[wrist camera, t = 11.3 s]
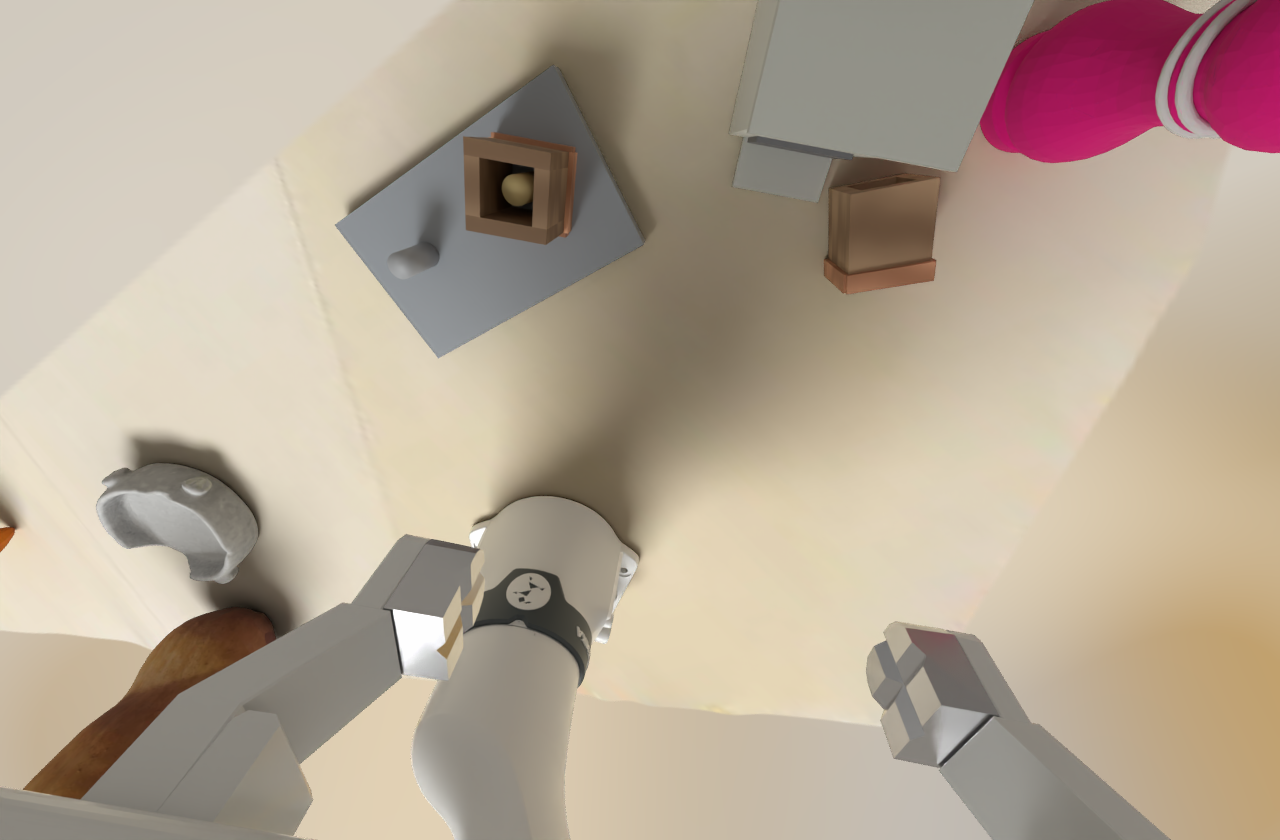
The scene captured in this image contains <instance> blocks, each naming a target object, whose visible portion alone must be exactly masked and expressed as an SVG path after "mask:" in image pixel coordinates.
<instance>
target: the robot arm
mask: <svg viewBox="0 0 1280 840" xmlns="http://www.w3.org/2000/svg"><path fill="white" fill-rule="evenodd" d="M469 539H470V542H471V546H472V547H469V546H464V545H459V544H454V543H449V542H444V541H439V540H434V539H428V538H423V537H418V536H413V535H407V534H406V535H404V536H403V537H402V538H400V539H399V540H398V541H397V542H396V543H395V545H394V546H393V547H392V549H391V550H390V551H389V553H388V554H387V555H386V557H385V558H384V560H383V561H382V562H381V564H380V565H379V566H378V568H377V569H376V570H375V572H374V573H373V574H372V576H371V577H370V579H369V580H368V581H367V583H366V584H365V585H364V587H363V588H362V589H361V591H360V592H359V593H358V595H357V596H356V598H355V599H354V600H353V602H352V603H351V604H350V603H341V604H339V605H337V606H336V607H334V608H332V609H330V610H328V611H327V612H325V613H323V614H321V615H319V616H318V617H316V618H314V619H312V620H311V621H309V622H307V623H305V624H303V625H302V626H300V627H298V628H296V629H294V630H293V631H291V632H289V633H287V634H285V635H284V636H282V637H280V638H278V639H276V640H275V641H273V642H271V643H269V644H267V645H266V646H264V647H262V648H260V649H259V650H257V651H255V652H253V653H251V654H250V655H248V656H246V657H244V658H242V659H241V660H239V661H237V662H235V663H233V664H232V665H230V666H228V667H226V668H224V669H223V670H221V671H219V672H217V673H216V674H214V675H212V676H210V677H208V678H207V679H205V680H203V681H201V682H199V683H198V684H196V685H194V686H192V687H190V688H189V689H187V690H185V691H183V692H181V693H180V694H178V695H177V696H176V697H175V699H174V700H173V701H172V702H171V703H170V704H169V705H168V706H167V707H166V708H165V709H164V710H163V711H162V712H161V714H160V715H159V716H158V717H157V718H156V719H155V720H154V721H153V722H152V723H151V724H150V725H149V726H148V727H147V729H146V730H145V731H144V732H143V733H142V734H141V735H140V736H139V737H138V738H137V739H136V740H135V741H134V743H133V744H132V745H131V746H130V747H129V748H128V749H127V750H126V751H125V752H124V753H123V754H122V755H121V756H120V758H119V759H118V760H117V761H116V762H115V763H114V764H113V765H112V766H111V767H110V768H109V769H108V770H107V771H106V773H105V774H104V775H103V776H102V777H101V778H100V779H99V780H98V781H97V782H96V783H95V784H94V785H93V787H92V788H91V789H90V790H89V791H88V792H87V793H86V794H85V795H84V796H83V797H82V798H81V799H74V798H68V797H62V796H56V795H50V794H44V793H38V792H33V791H27V790H21V789H15V788H9V787H3V786H0V840H315V839H308V838H303V837H297V836H293V835H294V833H295V832H296V830H297V828H298V826H299V825H300V823H301V821H302V819H303V817H304V816H305V814H306V812H307V810H308V808H309V807H310V805H311V803H312V801H313V798H312V793H311V789H310V787H309V785H308V782H307V780H306V778H305V776H304V774H303V772H302V769H301V767H300V765H299V764H301V763H302V762H303V761H304V760H305V759H306V758H308V757H309V756H310V755H311V754H312V753H314V752H315V751H316V750H317V749H318V748H319V747H321V746H322V745H323V744H324V743H325V742H326V741H328V740H329V739H330V738H331V737H332V736H334V734H336V733H337V732H338V731H339V730H341V729H342V728H343V727H344V726H345V725H347V724H348V723H349V722H350V721H351V720H352V719H354V718H355V717H356V716H357V715H358V714H359V713H360V712H362V711H363V710H364V709H365V708H367V706H369V705H370V704H371V703H372V702H374V701H375V700H376V699H377V698H378V697H379V696H381V695H382V694H383V693H384V692H385V691H387V690H388V689H389V688H390V687H391V686H392V685H394V684H395V683H396V682H397V681H398V680H399V679H401V678H402V675H409V676H416V677H423V678H430V679H437V683H436V685H435V687H434V689H433V691H432V693H431V696H430V698H429V700H428V702H427V704H426V706H425V708H424V711H423V713H422V715H421V717H420V719H419V721H418V724H417V726H416V728H415V731H414V734H413V738H412V744H411V763H412V769H413V773H414V776H415V779H416V781H417V783H418V786H419V788H420V790H421V792H422V793H423V795H424V797H425V798H426V800H427V801H428V802H429V803H430V805H431V806H432V807H433V808H434V809H435V810H436V812H437V813H438V814H439V815H440V816H441V817H442V818H443V820H444V821H445V822H446V824H447V825H448V827H449V828H450V830H451V832H452V835H453V837H454V840H570V835H569V830H568V824H567V816H566V809H565V808H566V807H565V787H564V786H565V768H566V759H567V750H568V742H569V735H570V727H571V721H572V714H573V709H574V702H575V697H576V692H577V688H578V687H579V686H580V685H581V683H582V681H583V679H584V676H585V672H586V670H587V667H588V664H589V659H590V649H591V645H592V644H593V642H594V641H597V642H599V643H603V644H605V643H607V641H608V639H609V635H610V632H611V626H612V622H613V617H614V615H613V612H614V610H615V608H616V606H617V604H618V603H619V601H620V599H621V597H622V595H623V593H624V591H625V590H626V588H627V586H628V584H629V582H630V580H631V578H632V577H633V575H634V573H635V571H636V569H637V567H638V563H639V557H638V555H637V554H636V553H635V552H634V551H633V550H631V549H630V548H629V547H627V546H626V545H625V544H623V543H622V542H621V541H620V540H619V539H618V537H617V536H616V534H615V532H614V531H613V529H612V528H611V527H610V525H609V524H608V523H607V522H606V521H605V520H604V519H603V518H602V517H601V516H600V515H598V514H597V513H596V512H594V511H593V510H591V509H590V508H588V507H586V506H584V505H582V504H580V503H577V502H575V501H572V500H568V499H565V498H560V497H553V496H535V497H529V498H524V499H521V500H518V501H516V502H513V503H512V504H510V505H508V506H507V507H505V508H504V509H503V510H502V511H501V512H500V513H499V514H498V515H497V516H495V517H494V518H492V519H490V520H487V521H484V522H481V523H478V524H476V525H474V526H473V527H472V529H471V531H470V534H469ZM883 633H884V635H885V638H886V641H884V642H882V643H880V644H878V645H876V646H874V647H873V649H872V651H871V652H870V654H869V656H868V659H867V667H866V674H867V681H868V685H869V688H870V691H871V694H872V697H873V698H874V699H875V700H876V701H877V702H878V703H879V704H880V705H881V707H882V708H883V709H884V711H883V714H882V717H881V720H880V721H881V724H882V726H883V729H884V732H885V735H886V738H887V740H888V743H889V747H890V749H891V752H892V755H893V758H894V759H898V760H903V761H908V762H913V763H918V764H923V765H928V766H933V767H937V768H940V770H939V771H940V773H941V774H942V775H943V777H944V778H945V779H946V780H947V782H948V783H949V784H950V785H951V787H952V788H953V790H954V791H955V792H956V793H957V795H958V796H959V797H960V798H961V800H962V801H963V802H964V804H965V805H966V806H967V808H968V809H969V810H970V811H971V813H972V814H973V815H974V816H975V818H976V819H977V820H978V822H979V823H980V824H981V825H982V827H983V828H984V829H985V831H986V832H987V833H988V835H989V836H990V837H991V838H992V840H1170V839H1169V838H1168V837H1167V836H1166V835H1165V834H1164V833H1162V832H1161V831H1160V830H1159V829H1158V828H1157V827H1156V826H1155V825H1153V824H1152V823H1151V822H1150V821H1149V820H1148V819H1147V818H1145V817H1144V816H1143V815H1142V814H1141V813H1140V812H1138V811H1137V810H1136V809H1135V808H1134V807H1133V806H1132V805H1131V804H1129V803H1128V802H1127V801H1126V800H1125V799H1124V798H1123V797H1122V796H1120V795H1119V794H1118V793H1117V792H1116V791H1114V790H1113V789H1112V788H1111V787H1110V786H1109V785H1108V784H1107V783H1106V782H1104V781H1103V780H1102V779H1101V778H1100V777H1099V776H1097V775H1096V774H1095V773H1094V772H1093V771H1092V770H1091V769H1090V768H1089V767H1087V766H1086V765H1085V764H1084V763H1083V762H1082V761H1080V760H1079V759H1078V758H1077V757H1076V756H1075V755H1074V754H1073V753H1071V752H1070V751H1069V750H1068V749H1067V748H1066V747H1065V746H1063V745H1062V744H1061V743H1060V742H1059V741H1058V740H1056V739H1055V738H1054V737H1053V736H1052V735H1051V734H1050V733H1049V732H1048V731H1046V730H1045V729H1044V728H1043V727H1042V726H1040V725H1039V724H1035V723H1031V722H1030V720H1029V719H1028V717H1027V715H1026V714H1025V712H1024V710H1023V709H1022V707H1021V706H1020V704H1019V702H1018V701H1017V699H1016V697H1015V696H1014V694H1013V692H1012V691H1011V689H1010V687H1009V686H1008V684H1007V682H1006V681H1005V679H1004V677H1003V676H1002V674H1001V672H1000V671H999V669H998V668H997V666H996V664H995V663H994V661H993V659H992V658H991V656H990V654H989V653H988V651H987V649H986V648H985V646H984V644H983V643H982V642H981V641H980V640H979V639H978V638H977V637H976V636H975V635H972V634H966V633H960V632H955V631H949V630H944V629H940V628H933V627H927V626H921V625H915V624H909V623H903V622H897V621H896V622H893V623H891V624H889V625H888V627H887V628H886V630H885V631H884V632H883ZM401 674H402V675H401Z"/></svg>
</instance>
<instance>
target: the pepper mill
mask: <svg viewBox="0 0 1280 840" xmlns="http://www.w3.org/2000/svg"><path fill="white" fill-rule="evenodd" d="M980 125H981V130H982V132H983V134H984V136H985V138H986V139H987V141H988V142H989V143H990V144H991V145H993V146H994V147H995V148H997V149H999V150H1002V151H1005V152H1011V153H1022V154H1024V155H1025V156H1027V157H1029V158H1031V159H1034V160H1037V161H1041V162H1047V163H1059V162H1070V161H1076V160H1082V159H1087V158H1090V157H1093V156H1096V155H1099V154H1102V153H1105V152H1108V151H1110V150H1112V149H1114V148H1116V147H1118V146H1120V145H1123V144H1125V143H1127V142H1128V141H1130V140H1132V139H1134V138H1135V137H1137V136H1139V135H1140V134H1142V133H1144V132H1146V131H1147V130H1149V129H1151V128H1153V127H1157V126H1164V127H1165V128H1166V129H1167V130H1169V131H1170V132H1171V133H1173V134H1176V135H1178V136H1180V137H1184V138H1190V139H1202V138H1222V139H1223V140H1224V141H1226V142H1228V143H1230V144H1232V145H1234V146H1237V147H1239V148H1242V149H1244V150H1249V151H1259V152H1268V153H1280V0H1220V1H1219V2H1218V3H1216V4H1215V5H1214V6H1212V7H1211V8H1210V9H1209V10H1207V11H1206V12H1205V13H1203V14H1195V13H1192V12H1189V11H1186V10H1184V9H1182V8H1180V7H1178V6H1175V5H1173V4H1171V3H1168V2H1166V1H1163V0H1110V1H1105V2H1101V3H1097V4H1094V5H1090V6H1088V7H1086V8H1084V9H1081V10H1079V11H1077V12H1075V13H1074V14H1072V15H1070V16H1068V17H1067V18H1065V19H1064V20H1062V21H1061V22H1059V23H1058V24H1057V25H1055V26H1054V27H1053V28H1052V29H1051V30H1048V31H1045V32H1042V33H1039V34H1037V35H1034V36H1032V37H1030V38H1028V39H1027V40H1025V41H1024V42H1022V43H1021V44H1019V45H1018V46H1016V47H1015V48H1014V49H1013V50H1012V51H1011V53H1010V55H1009V57H1008V60H1007V62H1006V64H1005V66H1004V68H1003V71H1002V73H1001V75H1000V77H999V80H998V82H997V84H996V86H995V88H994V91H993V93H992V95H991V97H990V100H989V102H988V104H987V106H986V108H985V111H984V113H983V115H982V117H981V120H980Z"/></svg>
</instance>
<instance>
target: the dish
mask: <svg viewBox="0 0 1280 840" xmlns="http://www.w3.org/2000/svg"><path fill="white" fill-rule="evenodd" d="M102 484H103V485H105V486H107V487H108V488H107V490H106V491H105V492H104V493H103V494H102V495H101V497H100V498H99V499H98V501H97V504H96V510H97V514H98V517H99V520H100V522H101V523H102V525H103V527H104V528H105V530H106V531H107V533H108V534H109V535H111V536H112V537H113V538H114V539H115V540H116V541H117V543H118V544H120V545H121V546H122V547H124V548H126V549H131V548H137V547H143V546H153V545H158V546H168V547H171V548H173V549H176V550H178V551H180V552H182V553H183V554H184V555H185V556H186V557H187V559H188V563H189V566H190V569H191V572H190V578H191V579H194V580H197V581H211V580H214V581H215V582H216V583H220V584H225V583H228V582H230V581H231V580H232V579H233V578H234V577H235V576H236V575H237V573H238V571H239V569H238V567H237V565H238V564H239V563H240V562H242V560H243V559H244V558H245V557H246V556H247V555H248V554H249V553H250V551H251V550H252V548H253V547H254V545H255V543H256V541H257V539H258V527H257V523H256V520H255V518H254V516H253V514H252V512H251V511H250V509H249V508H248V507H247V505H246V504H245V503H244V502H243V501H242V500H241V499H240V498H239V497H238V496H237V495H236V494H235V493H234V492H233V491H232V490H231V489H230V488H229V487H227V486H226V485H225V484H223V483H222V482H221V481H219V480H218V479H216V478H214V477H213V476H211V475H209V474H207V473H204V472H202V471H199V470H197V469H194V468H190V467H187V466H182V465H177V464H169V463H154V464H150V465H146V466H144V467H141V468H139V469H137V470H135V471H131V470H130V469H128V468H122V469H119V470H117V471H114V472H113V473H111V474H110V475H109V476H107V477H106V478H105V479H103V481H102Z"/></svg>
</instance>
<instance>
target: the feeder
mask: <svg viewBox="0 0 1280 840" xmlns="http://www.w3.org/2000/svg"><path fill="white" fill-rule="evenodd" d="M1033 2H1034V0H758V3H757V8H756V12H755V17H754V21H753V26H752V31H751V35H750V40H749V44H748V49H747V53H746V58H745V62H744V67H743V71H742V76H741V80H740V85H739V90H738V94H737V99H736V103H735V108H734V112H733V117H732V121H731V126H730V130H729V134H730V135H735V136H740V137H743V140H742V144H741V149H740V153H739V157H738V162H737V166H736V170H735V174H734V179H733V183H732V187H736V188H741V189H746V190H752V191H757V192H762V193H768V194H773V195H778V196H784V197H789V198H794V199H800V200H805V201H811V202H816V203H818V201H819V198H820V195H821V192H822V189H823V186H824V183H825V179H826V176H827V173H828V170H829V167H830V164H831V161H832V158H833V159H846V160H852V158H853V157H868V158H880V159H885V160H890V161H896V162H901V163H906V164H912V165H917V166H922V167H928V168H933V169H938V170H944V171H951V172H957V171H958V168H959V166H960V164H961V162H962V160H963V157H964V155H965V153H966V151H967V148H968V146H969V144H970V142H971V140H972V137H973V135H974V133H975V131H976V128H977V126H978V124H979V122H980V120H981V117H982V115H983V113H984V111H985V108H986V106H987V104H988V102H989V100H990V97H991V95H992V93H993V91H994V88H995V86H996V84H997V82H998V80H999V77H1000V75H1001V73H1002V71H1003V68H1004V66H1005V64H1006V62H1007V60H1008V57H1009V55H1010V53H1011V51H1012V49H1013V46H1014V44H1015V42H1016V40H1017V37H1018V35H1019V33H1020V31H1021V29H1022V26H1023V24H1024V22H1025V20H1026V17H1027V15H1028V13H1029V11H1030V9H1031V6H1032V4H1033Z"/></svg>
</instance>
